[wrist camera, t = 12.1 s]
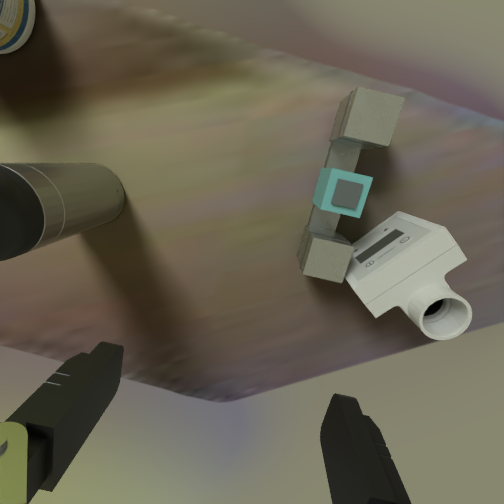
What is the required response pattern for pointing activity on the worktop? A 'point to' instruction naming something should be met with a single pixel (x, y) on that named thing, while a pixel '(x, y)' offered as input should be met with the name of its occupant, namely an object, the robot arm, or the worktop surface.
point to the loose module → (341, 191)
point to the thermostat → (410, 274)
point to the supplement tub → (15, 23)
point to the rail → (345, 158)
